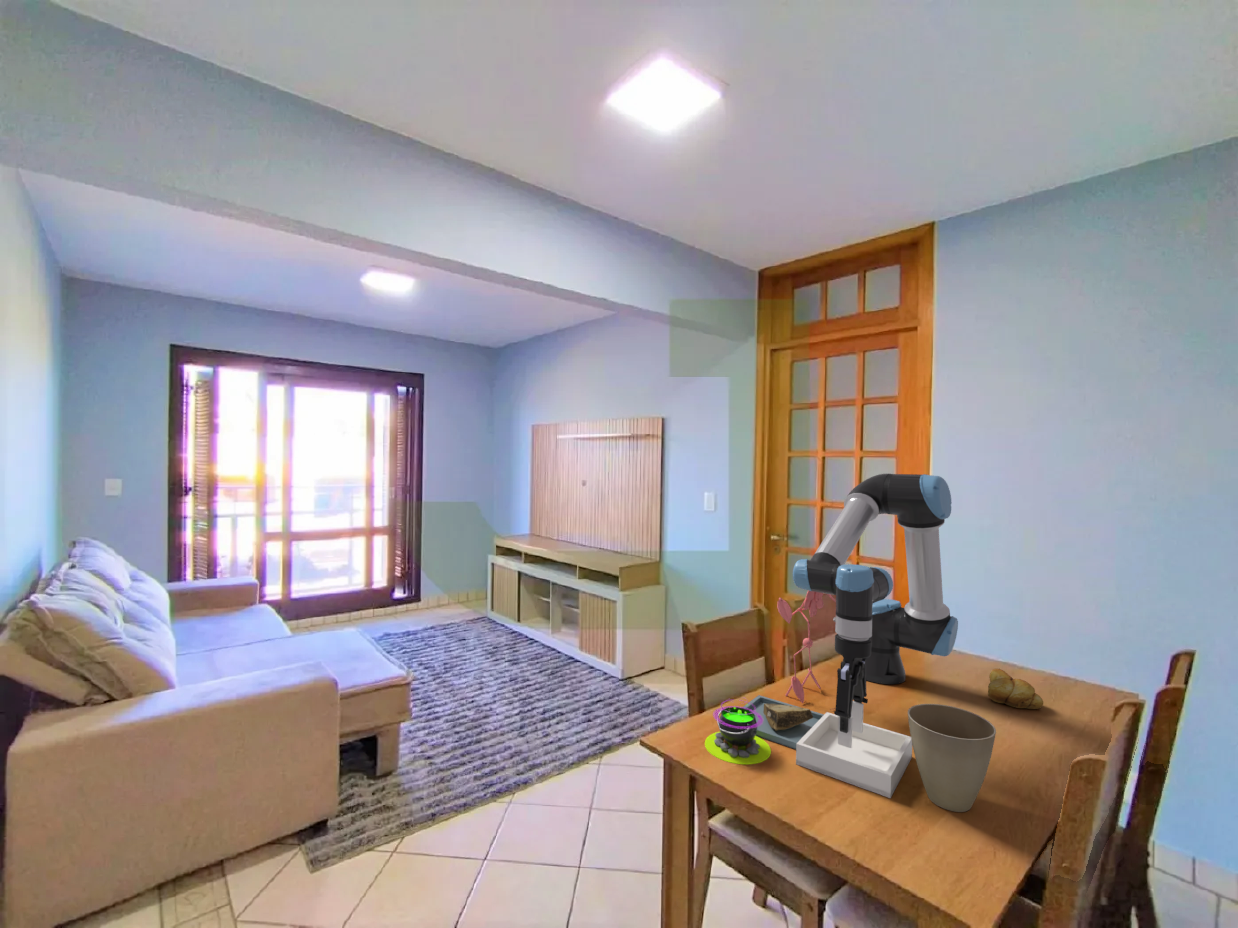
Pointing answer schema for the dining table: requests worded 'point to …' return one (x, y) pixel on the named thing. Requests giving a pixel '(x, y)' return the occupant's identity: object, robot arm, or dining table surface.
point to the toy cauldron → (737, 737)
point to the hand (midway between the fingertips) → (850, 737)
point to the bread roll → (1012, 691)
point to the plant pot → (951, 753)
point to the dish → (856, 755)
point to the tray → (780, 736)
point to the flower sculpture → (811, 603)
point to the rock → (785, 716)
